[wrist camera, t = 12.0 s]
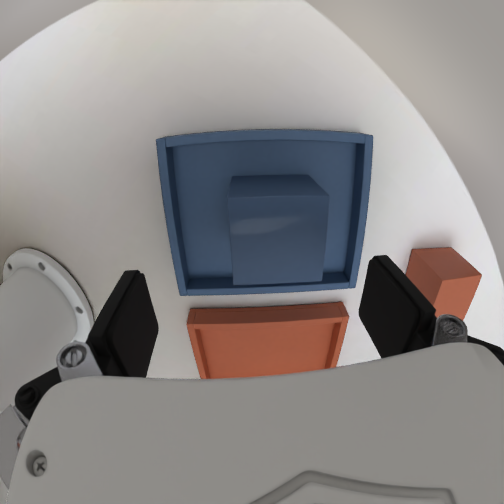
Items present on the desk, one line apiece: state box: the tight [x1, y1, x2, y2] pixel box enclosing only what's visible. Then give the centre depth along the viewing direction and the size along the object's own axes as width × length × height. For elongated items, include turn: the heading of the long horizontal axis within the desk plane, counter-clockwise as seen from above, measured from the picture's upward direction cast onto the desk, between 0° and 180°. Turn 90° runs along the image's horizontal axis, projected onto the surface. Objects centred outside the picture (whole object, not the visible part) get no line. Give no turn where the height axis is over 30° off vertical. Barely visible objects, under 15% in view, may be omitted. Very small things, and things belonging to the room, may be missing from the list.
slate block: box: [227, 175, 330, 285], centre depth 16 cm, size 5×5×5 cm
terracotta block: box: [406, 247, 482, 321], centre depth 20 cm, size 5×5×5 cm
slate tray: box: [156, 129, 373, 296], centre depth 18 cm, size 13×11×2 cm
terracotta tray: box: [187, 302, 349, 379], centre depth 25 cm, size 13×11×2 cm
